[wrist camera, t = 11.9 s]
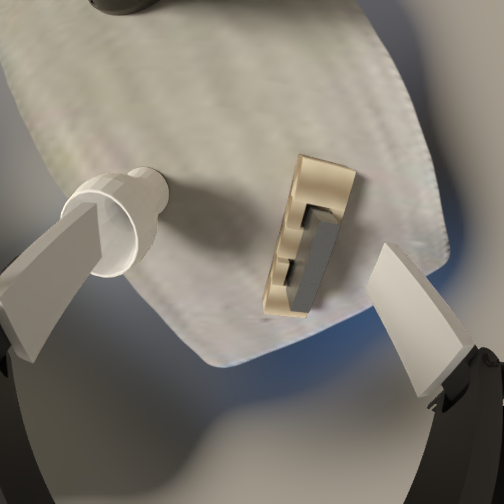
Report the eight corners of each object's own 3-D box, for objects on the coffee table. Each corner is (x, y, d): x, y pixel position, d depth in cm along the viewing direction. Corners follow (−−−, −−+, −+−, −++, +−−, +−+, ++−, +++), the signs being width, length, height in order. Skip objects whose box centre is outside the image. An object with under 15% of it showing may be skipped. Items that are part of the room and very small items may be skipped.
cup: (192, 180, 36) (162, 219, 23) (159, 238, 40) (124, 298, 27) (130, 144, 33) (70, 164, 20) (103, 205, 37) (48, 250, 24)
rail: (298, 153, 35) (305, 158, 31) (345, 166, 35) (356, 171, 32) (262, 298, 45) (264, 313, 42) (301, 302, 46) (306, 317, 43)
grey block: (305, 199, 37) (320, 220, 30) (322, 203, 37) (340, 225, 30) (283, 278, 43) (290, 311, 35) (298, 280, 43) (308, 313, 36)
